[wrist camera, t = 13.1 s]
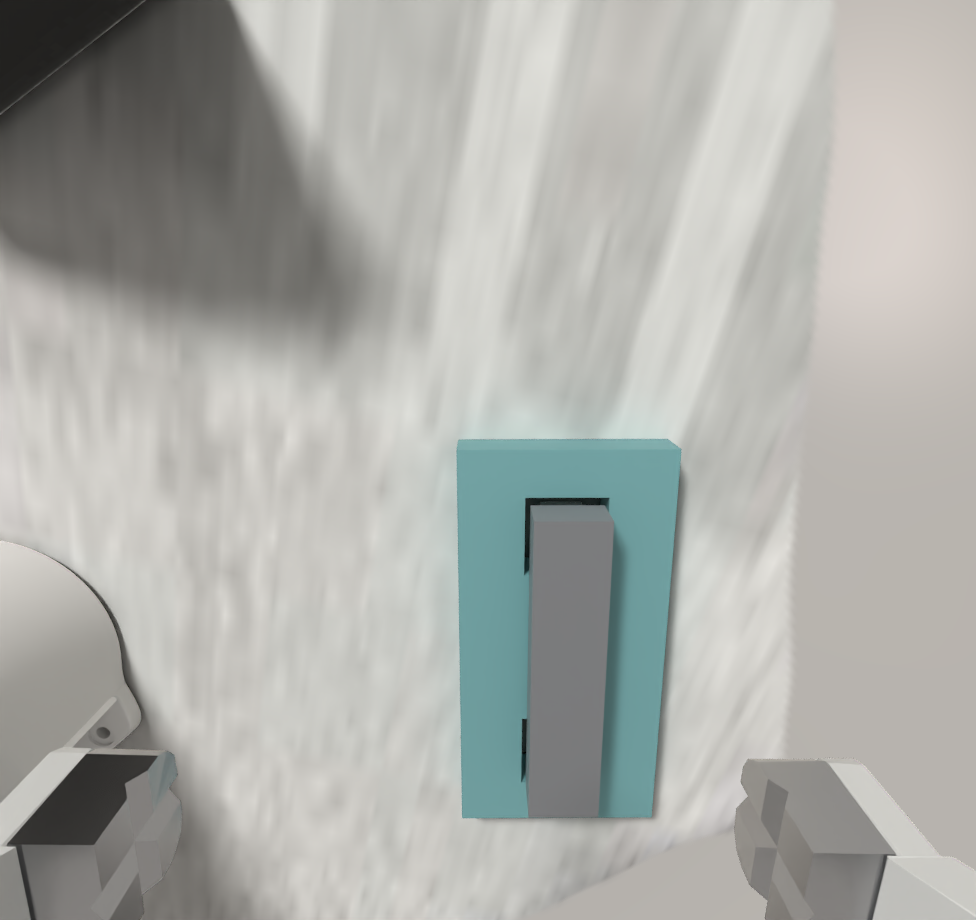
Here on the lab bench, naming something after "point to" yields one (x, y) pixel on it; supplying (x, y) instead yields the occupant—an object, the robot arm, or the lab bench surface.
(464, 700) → the mounting plate
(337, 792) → the lab bench surface
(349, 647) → the lab bench surface
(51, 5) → the voltmeter
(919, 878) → the robot arm
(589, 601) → the pin bar
